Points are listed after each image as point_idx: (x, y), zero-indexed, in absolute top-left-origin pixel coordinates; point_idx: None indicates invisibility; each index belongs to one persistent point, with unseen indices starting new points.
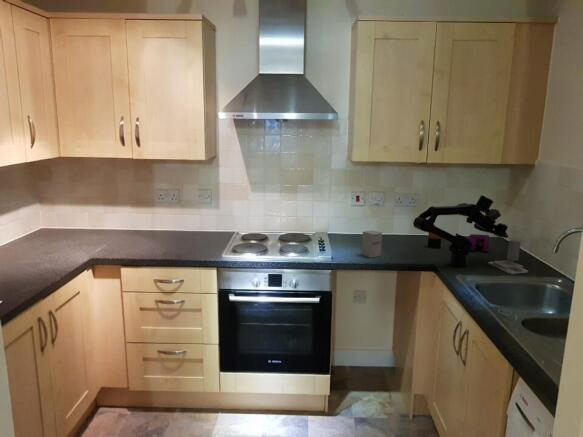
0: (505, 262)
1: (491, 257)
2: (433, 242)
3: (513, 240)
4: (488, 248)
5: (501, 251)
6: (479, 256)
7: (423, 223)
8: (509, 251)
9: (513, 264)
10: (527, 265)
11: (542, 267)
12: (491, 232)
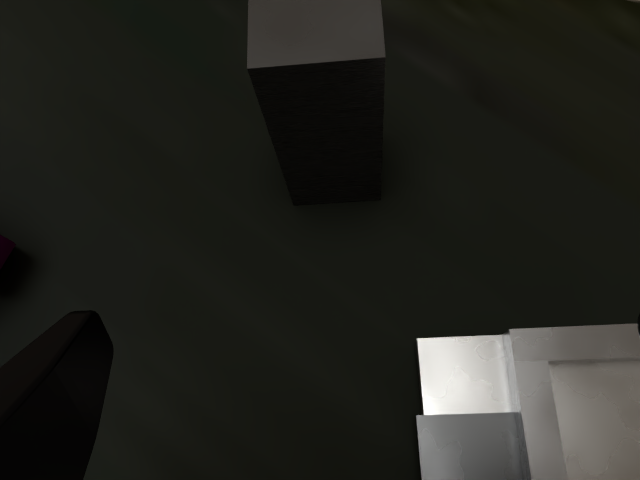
0: (553, 412)
1: (197, 342)
2: None
3: (275, 13)
4: (7, 244)
5: (54, 91)
6: (115, 469)
7: None
8: (306, 159)
9: (636, 358)
10: (548, 150)
11: (626, 55)
12: (82, 456)
